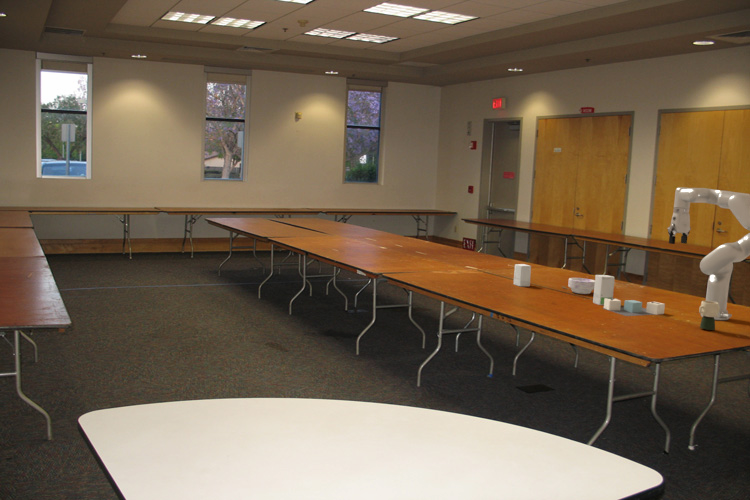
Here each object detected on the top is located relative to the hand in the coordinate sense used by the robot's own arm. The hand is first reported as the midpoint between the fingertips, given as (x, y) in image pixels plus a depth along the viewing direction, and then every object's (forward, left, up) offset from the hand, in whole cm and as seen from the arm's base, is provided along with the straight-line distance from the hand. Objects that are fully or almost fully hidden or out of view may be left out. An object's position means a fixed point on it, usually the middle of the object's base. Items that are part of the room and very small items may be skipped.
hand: (677, 243), depth 346 cm
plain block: (-4, +30, -34) cm, 45 cm away
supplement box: (+72, +46, -35) cm, 92 cm away
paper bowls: (+45, +23, -35) cm, 62 cm away
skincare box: (+15, +33, -35) cm, 50 cm away
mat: (-4, +30, -35) cm, 46 cm away
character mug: (-43, +22, -35) cm, 59 cm away
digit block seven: (+2, +38, -34) cm, 51 cm away
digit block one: (-10, +21, -34) cm, 41 cm away
